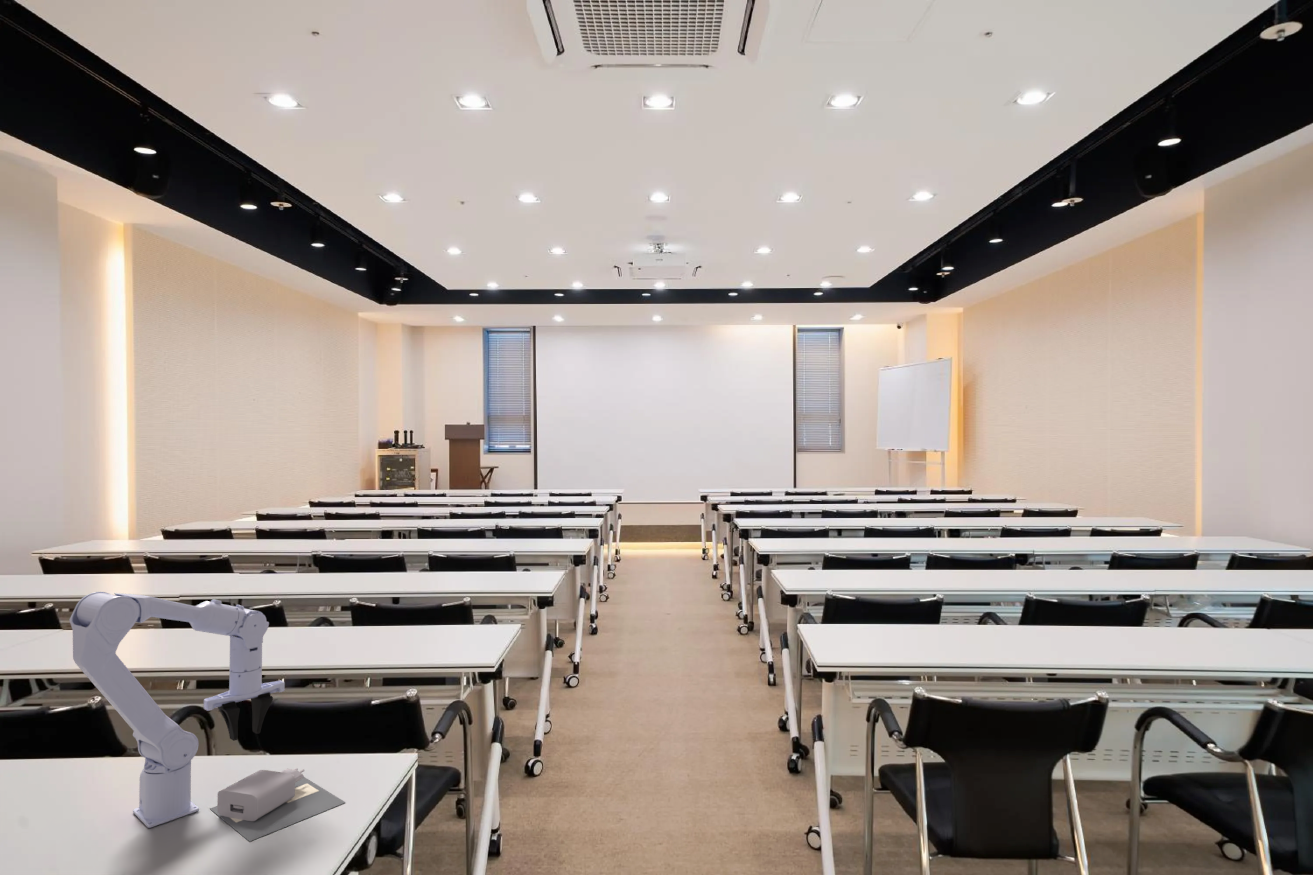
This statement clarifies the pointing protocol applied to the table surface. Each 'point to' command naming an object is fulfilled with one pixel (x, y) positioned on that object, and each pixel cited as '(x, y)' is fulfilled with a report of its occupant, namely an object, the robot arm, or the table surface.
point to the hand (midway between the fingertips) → (245, 735)
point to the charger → (258, 794)
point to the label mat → (286, 811)
